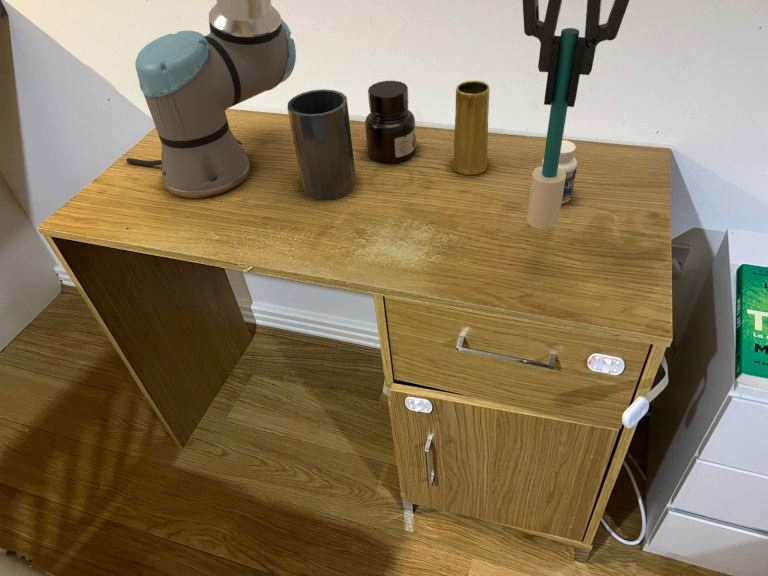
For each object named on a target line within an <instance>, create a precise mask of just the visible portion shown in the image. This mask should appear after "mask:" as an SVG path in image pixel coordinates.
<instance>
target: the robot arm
mask: <svg viewBox="0 0 768 576" xmlns="http://www.w3.org/2000/svg"><path fill="white" fill-rule="evenodd" d="M539 3H540V2H539V0H522V15H523V31H524V34H525V36H527V37H533V38H536V39H537V40H539V43H540V45H539V46H540V47H539V55H538V56H539V57H538V64H537V65H538V66H537V69H538V71H539V73H547V78H546V85H545V92H544V99H543V105H544V106H551V102H552V97H553V90H554V82H555V75H556V68H557V61H558V54H559V46H560V37H561V35H556V31H557V25H558V22H559V17H560V12H561V9H562V3H563V0H548V3H547V7H546V11H545V15H544V17H545V18H544V21H542V20H540V4H539ZM629 3H630V0H613V3H612V6H611V9H610V12H609V14H608V18H607V21H606V22H605V23H602V24H600V21H601V9H602V0H587V1H586V14H585V15H586V16H585V25H584V26H585V28H584V36H579V38H578V42H577V45H576V51H575V57H574V64H573V70H572V76H571V83H570V89H569V96H568V102H567V108H574V107H575V104H576V99H577V94H578V89H579V82H580V78H581V77H580V76H581V75H582V76H589V75H590V74H591V72H592V69H593V65H594V60H595V54H596V48H597V46H598V45H599V44H600V43H601V42H605V41H614V40H615V39H616V38H617V36H618V34H619V30H620V28H621V25H622V22H623V20H624V17H625V14H626V11H627V8H628V6H629ZM208 24H209V25H208V26H209V33H207V34H206V35H204V34H202V33H200V32H199V31H195V30H181V31H177V32H175V33H168V34H165V35H162V36H160V37H157V38H156V39H154V40H152V41H150V42H149V43H147V44H146V45H145V46H144V47H143V48H141V49H140V51H139V52H138V53H137V57H136V59H135V62H134V63H135V70H136V74H137V78H138V83H139V87H140V88H139V89H140V90H141V92H142V94H143V97H144V99H145V102H146V105H147V107H148V110H149V113H150V115H151V119H152V121H153V124H154V127H155V129H156V132H157V135H158V138H159V140H160V141H159V142H160V144H161V159H156V160H144V159H138V158H132V157H126V160H125V161H126V163H127V164H132V165H139V166H146V167H153V166H154V167H155V166H161V178H162V181H163V184H164V187H165V189H166V190H167V192H169V193H170V194H172V195H173V196H176V197H179V198H182V199H183V198H184V199H203V198H204V199H205V198H210V197H211V198H212V197H215V196H218V195H222V194H224V193H226V192H229V191H231V190H233V189H235V188H236V187H238V186H239V185H241V184H242V183H243V182H244V181H246V179H247V178H248V176H249V175H250V172H251V164H250V161H249V157H248V155H247V152H245V150H244V149H243V148H242V146H243V144H242V142H241V141H240V140H239V139H237V138H236V136H235V135H234V133H233V132H232V130H231V128H230V124H229V121H228V117H227V113H226V110H228V109H230V108H232V107H234V106H237V105H238V104H240V103H243V102H245V101H247V100H249V99H252V98H254V97H256V96H258V95H260V94H262V93H264V92H267V91H271V90H273V89H275V88H276V87H278V86H279V85H280V84H282V83H284V82H285V81H287V80H288V79H289V78H290V76H291V75H292V73H293V72H294V69H295V65H296V60H297V50H296V43H295V40H294V38H292V37H291V34H292V31H291V30H290V27H289V26H288V24H287V23H286V22H285V20H284V19H283V18H282V16H281V14H280V12H279V11H278V10H277V9H276V8H275V7H274V6H273V5H272V0H216V4H214V6H212V7H211V9H210V10H209V12H208Z"/></svg>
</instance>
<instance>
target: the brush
mask: <svg viewBox="0 0 768 576" xmlns="http://www.w3.org/2000/svg"><path fill="white" fill-rule="evenodd" d="M560 36H561V37H560V46H559V54H558V61H557V68H556V75H555V82H554V90H553V97H552V102H551V105H550V110H549V119H548V125H547V133H546V139H545V146H544V155H543V158H544V160H543V159H542V160H543V166H541V165H540V166H538V167H536V168H534V169H533V171H532V174H531V182H530V190H529V197H528V206H527V213H526V222H527V223H528V225H529V226H531V227H533V228H535V229H538V230H550V229H553V228H555V227H556V226H557V225H558V224H559V220H560V215H561V207H562V204H561V203H562V197H563V191H564V185H565V179H566V173H565V172H564V171H563V170H562V169H561V168H558V164H559V158H560V151H561V145H562V140H564V132H565V127H566V120H567V119H566V118H567V112H568V107H567V102H568V96H569V89H570V83H571V76H572V70H573V64H574V57H575V51H576V45H577V42H578V38H579V37H580V30H579V29H577V28H575V27H566V28H563V29H561V31H560Z"/></svg>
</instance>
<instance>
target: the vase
mask: <svg viewBox="0 0 768 576" xmlns="http://www.w3.org/2000/svg"><path fill="white" fill-rule="evenodd" d="M489 111H490V85H489V84H488V83H486V82H485V81H481V80H466V81H462V82H460V83H459V84H457V86H456V88H455V113H454V136H453V161H452V169H453V170H454V171H455V172H456V173H458V174H460V175H463V176H476V175H480V174H482V173H484V172H485V171H487V169H488V167H489V161H488V160H489V159H488V141H489Z"/></svg>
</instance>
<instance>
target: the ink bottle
mask: <svg viewBox="0 0 768 576" xmlns="http://www.w3.org/2000/svg"><path fill="white" fill-rule="evenodd" d="M367 96H368V107H369V112H370V113H369V114H368V115H367V116H366V118H365V121H364V127H365V139H366V149H367V154H368V156H369V158H371V159H372V160H374V161H377V162H381V163H399V162H403V161H406V160H408V159H410V158H411V157H412V156H414V154H415V153H416V150H417V137H416V117H415V115H414V114H413V112H412V111H411V110H410V109H409V86H408V85H407V84H406V83H404V82H402V81H398V80H383V81H378V82H376V83H373V84H372V85H370V86H369V87H368V90H367Z"/></svg>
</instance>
